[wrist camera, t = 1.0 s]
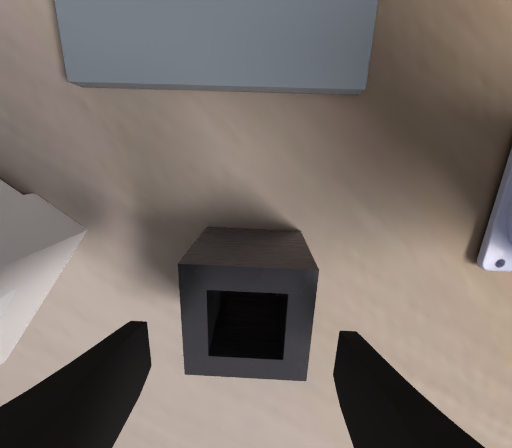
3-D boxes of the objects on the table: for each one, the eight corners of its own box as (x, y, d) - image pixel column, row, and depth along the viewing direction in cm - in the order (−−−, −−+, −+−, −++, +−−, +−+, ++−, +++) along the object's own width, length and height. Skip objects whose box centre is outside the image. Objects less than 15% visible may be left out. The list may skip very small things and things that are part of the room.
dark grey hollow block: (300, 231, 14) (319, 270, 9) (293, 311, 16) (306, 381, 11) (207, 227, 14) (177, 263, 9) (209, 307, 16) (184, 374, 11)
